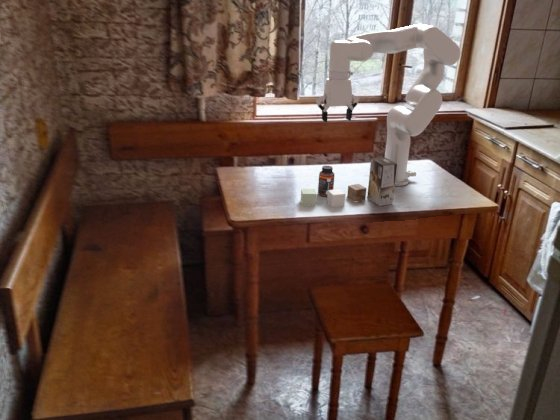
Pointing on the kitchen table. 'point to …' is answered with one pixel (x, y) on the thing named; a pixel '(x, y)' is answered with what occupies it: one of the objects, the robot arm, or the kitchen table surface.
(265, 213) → the kitchen table surface
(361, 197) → the walnut cube
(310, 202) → the sage cube
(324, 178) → the supplement bottle
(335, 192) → the pale pinkish white cube
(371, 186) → the coffee box
